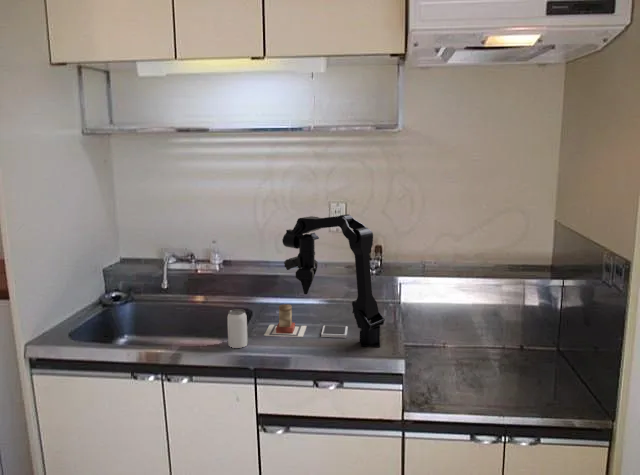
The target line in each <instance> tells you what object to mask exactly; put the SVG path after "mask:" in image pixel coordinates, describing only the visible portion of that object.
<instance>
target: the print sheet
mask: <svg viewBox="0 0 640 475" xmlns="http://www.w3.org/2000/svg"><path fill="white" fill-rule="evenodd" d="M277 325H278V324H269V325H268V328H267V329H266V331H265V332H264V334H263V336H264V337H280V338H281V337H282V338H283V337H285V338H304V335H305V333H306V330H307V325H300V324H299V325H297V324H295V329H294V331H293V334H291V333H276V327H277Z"/></svg>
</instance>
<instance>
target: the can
mask: <svg viewBox="0 0 640 475" xmlns="http://www.w3.org/2000/svg"><path fill="white" fill-rule="evenodd" d="M247 318H248V316H247V313H246V310H244V309H241V308H240V309H239V308H237V309H236V308H235V309H230V310H228V314H227V319H226V320H227V344H228V347H229V346H230V347H229V348H231V347H232V348H231V349H234V348H240V349H242V347H244V348H245V346H248V319H247Z"/></svg>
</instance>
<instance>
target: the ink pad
mask: <svg viewBox="0 0 640 475" xmlns="http://www.w3.org/2000/svg"><path fill="white" fill-rule="evenodd" d="M348 329H349V326H347V325H346V326H345V325H323V326H322V330H321V334H320V335H321V336H320V338H340V339H341V338H343V339H347V337H348Z"/></svg>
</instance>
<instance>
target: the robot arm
mask: <svg viewBox="0 0 640 475" xmlns="http://www.w3.org/2000/svg"><path fill="white" fill-rule="evenodd" d="M336 227H339V228H340V230H341V232H342V235H343V236H344V238H346V239H347V241H348V244H349V248H350V250H351V251H352V254H354V262H355V265H354V266H355V275H356V276H355V277H356V278H355V279H356V289H357V297H356V300H352V301H351V304H352V305H351V306H352V314H353V316H354V319H355V322H356V325H357V328H358V329H359V343H360V346H361V347H371V348H372V347H374V348H377V347H378V348H379V347H381V326H383V325H384V324H385V321H386V320H385V317H384V316H383V315H382V313H381V312H380V310H379V306H378V303H377V301H376V298H375V297H374V296H373V289H372V276H371V261H370V260H371V259H370V252H371V251H372V250H371V249H372V247H373V244H374V243H373V242H374V234H373V231H372V230H371V229H370V228H369V227H366V224H364V223H362V222H360V221H359V220H357V219H356V218H354V217H353V215H351V214H348V213H347V214H341V215H336V216H328V217H318V216H313V215H312V216H311V215H310V216H303V217H299V218H297V221H296V223H295V225H294V227H293V229H290V228H289V229H286V232H285V233H284V235H283V238H282V245H283V246H284V247H286V248H291V249H299V251H298V252H299V253H298V254H297V256H294V257H290V258H288V259H287V258H286V259H285V260H284V262H283V265H284V268H286V269H285V270H286V271H290V270H291V269H294V268H297V270H296V271H295V279H297V280H298V281H299V282H300V283H301V287H302V290H303V294H304V295H308V293H309V290H310V289H311V286H312V283H313V281H314V278H315V275H316V273H317V270H318V263H319V262H318V261H317V260H316V259H315V257H316V251H315V248H316V247H315V241H316V240H319V239H320V237H319V235H317V234H316V231H319V230H321V229H326V228H327V229H328V228H336Z"/></svg>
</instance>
